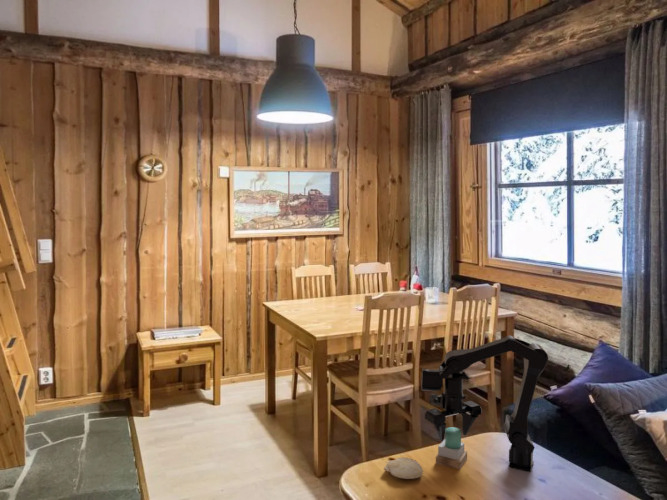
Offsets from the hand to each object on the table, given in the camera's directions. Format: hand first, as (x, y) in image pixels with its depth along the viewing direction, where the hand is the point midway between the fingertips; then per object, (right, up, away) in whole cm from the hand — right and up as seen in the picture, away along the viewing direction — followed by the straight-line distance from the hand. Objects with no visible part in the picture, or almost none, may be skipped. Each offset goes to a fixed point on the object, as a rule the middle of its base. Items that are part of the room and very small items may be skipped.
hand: (453, 437), depth 173 cm
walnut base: (0, -9, +1) cm, 9 cm away
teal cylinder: (0, -3, 0) cm, 3 cm away
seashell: (-17, -9, -7) cm, 20 cm away
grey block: (0, -6, +1) cm, 6 cm away
